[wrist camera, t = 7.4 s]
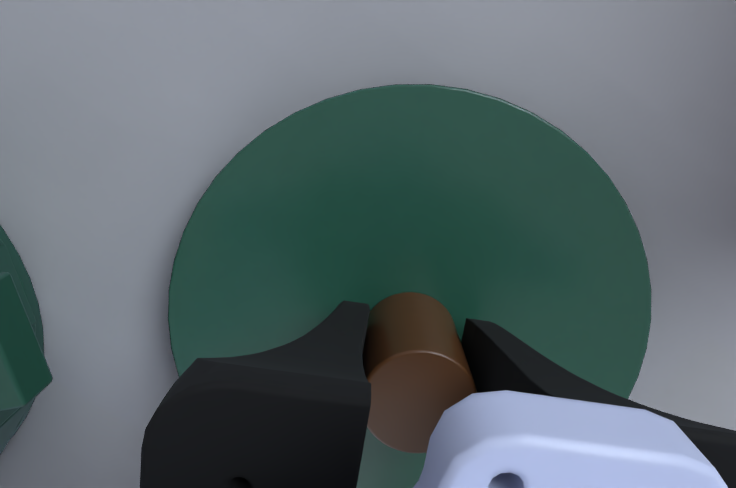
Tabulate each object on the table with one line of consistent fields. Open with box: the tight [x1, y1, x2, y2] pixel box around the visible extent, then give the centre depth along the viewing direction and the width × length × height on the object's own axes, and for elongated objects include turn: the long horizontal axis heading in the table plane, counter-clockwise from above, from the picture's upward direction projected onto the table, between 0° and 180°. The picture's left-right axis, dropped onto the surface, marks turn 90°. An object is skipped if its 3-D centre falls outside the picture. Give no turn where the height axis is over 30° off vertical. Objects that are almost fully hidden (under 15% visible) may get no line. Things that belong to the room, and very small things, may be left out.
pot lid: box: [168, 84, 651, 488], centre depth 13 cm, size 12×12×4 cm
